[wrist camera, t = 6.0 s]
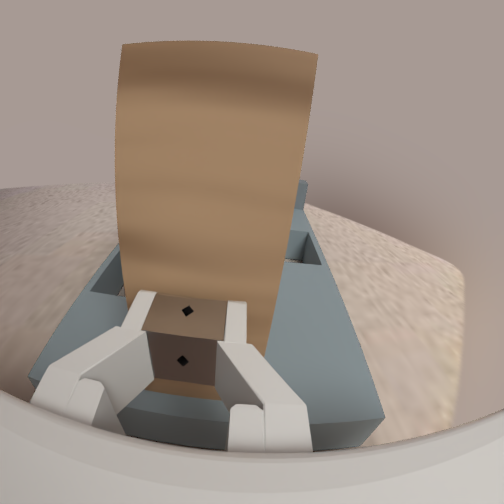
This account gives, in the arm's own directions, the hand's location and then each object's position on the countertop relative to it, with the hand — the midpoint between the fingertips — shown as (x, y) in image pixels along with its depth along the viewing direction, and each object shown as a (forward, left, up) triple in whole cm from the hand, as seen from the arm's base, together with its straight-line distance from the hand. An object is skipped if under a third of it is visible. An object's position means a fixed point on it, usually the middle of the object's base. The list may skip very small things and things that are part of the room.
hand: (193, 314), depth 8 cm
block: (-4, +2, -5) cm, 7 cm away
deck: (-11, +6, -8) cm, 15 cm away
